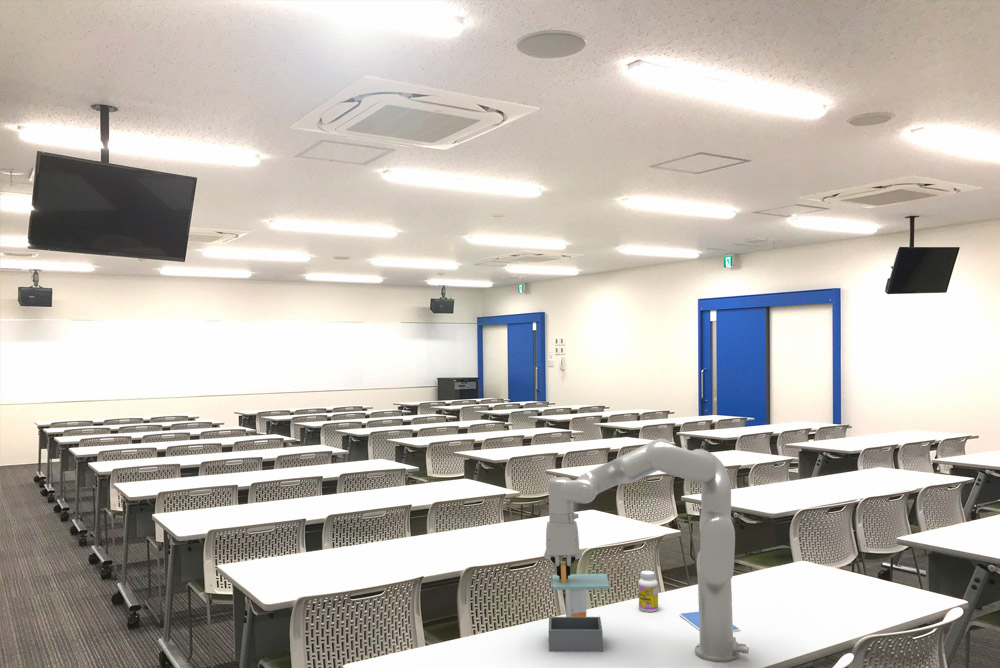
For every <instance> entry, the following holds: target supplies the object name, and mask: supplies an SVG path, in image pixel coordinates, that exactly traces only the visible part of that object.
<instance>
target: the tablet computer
mask: <svg viewBox="0 0 1000 668" xmlns="http://www.w3.org/2000/svg"><path fill="white" fill-rule="evenodd" d="M679 617H681V618H682V619H683V620H685V621H686V622H687V623H688V624H690V625H691V626H692V627H694V628H695V629H696V630H698V631H699V632H700V629H699V611H692V612H681V613H679ZM739 631H740V632H741V629H740V628H739V627H737V626H736V625H734V624H733V633H739Z"/></svg>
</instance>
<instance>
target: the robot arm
mask: <svg viewBox="0 0 1000 668" xmlns="http://www.w3.org/2000/svg"><path fill="white" fill-rule="evenodd" d="M656 472H661V473H664V474H667V475H671V476H674V477H678V478H681V479H683V480H686V481H691V482H694V483H698V484H700V487H701V503H700V504H701V505H700V506H701V507H700V508H701V509H700V519H699V524H698V526H699V532H700V533H699V534H700V538H699V539H700V541H699V546H700V547H699V551H698V552H697V557H696V571H697V575H696V576H697V591H698V593H697V595H698V596H697V597H698V612H699V629H700V631H699V643H698V644H696V646H695V647H694V653H695V655H697V657H699V658H701V659H704V660H707V661H713V662H731V661H734V660H736V659H738V658H739V656H740V653H742V654H747V655H749V651H750V650H749V649H750V648H749V646H747V644H746V643H739V642H737V638H736V637H734V632H733V625H734V623H733V596H732V595H733V594H732V593H733V592H732V579H733V576H734V571H735V570H734V569H735V552H736V551H735V550H736V549H735V548H736V531H735V527H734V524H733V520H732V487H731V486H732V485H731V480H730V476H729V472H728V471H727V469H726V467H725V466H724V464H723V462H722V461H721V460H720V459H719V458H718V457H717V456H716V455H715V454H713V453H712V452H709V451H708V450H706V449H702V448H696V449H693V450H689V449H687V448H683V447H679V446H677V445H674V444H673V443H672V442H671V441H670V440H668V439H665V438H658V439H654V440H652V441H651V442H648V443H646V444H645V445H642V446H640V447H638V448H635V449H633V450H632V451H630V452H627V453H626V454H624V455H620V456H618V457H617V458H614V459H613V460H611V461H609V462H607V463H604V464H602V465H599V466H598V467H596V468H593V469H591V470H589V471H587V472H585V473H583V474H581V475H580V476H579V477H578V478H577V479H571V478H570V477H567V476H557V477H556V476H555V477H551V478H550V479H549V480H548V484H547V485H548V487H547V491H548V514H549V521H547V522H546V528H545V529H546V531H545V551H544V555H543V559H545V560H549V561H551V562H552V563H553V564H554V565H555V566H556V575H557V576H559V579H561V561H560V557H566V579H568V576H570V574H571V565H572V564H573V563H574V562H575V561H576V560H580V559H582V558H583V555H582V552H581V549H580V538H579V529H578V524H577V521H576V519H579V513H575V512H574V503H577V504H589V503H591V502H593V501H594V500H595V498H596V497H597V495H599V494H601V493H602V492H605V491H606V490H609V489H611V488H613V487H615V486H619V485H623V484H631V483H635V482H637V481H639V480H641V479H643V478H645V477H647V476H649V475H652V474H653V473H654V474H655V473H656Z"/></svg>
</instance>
